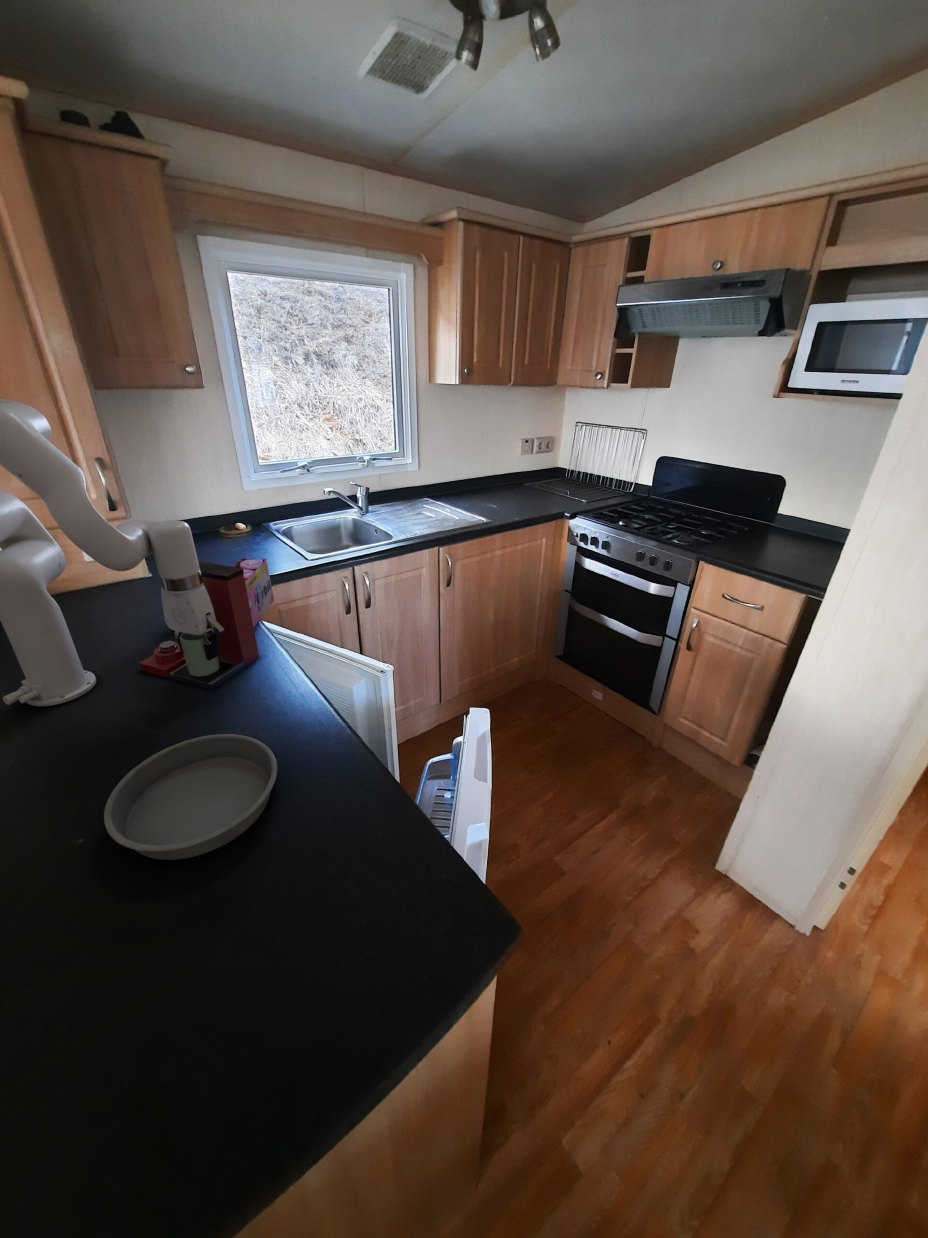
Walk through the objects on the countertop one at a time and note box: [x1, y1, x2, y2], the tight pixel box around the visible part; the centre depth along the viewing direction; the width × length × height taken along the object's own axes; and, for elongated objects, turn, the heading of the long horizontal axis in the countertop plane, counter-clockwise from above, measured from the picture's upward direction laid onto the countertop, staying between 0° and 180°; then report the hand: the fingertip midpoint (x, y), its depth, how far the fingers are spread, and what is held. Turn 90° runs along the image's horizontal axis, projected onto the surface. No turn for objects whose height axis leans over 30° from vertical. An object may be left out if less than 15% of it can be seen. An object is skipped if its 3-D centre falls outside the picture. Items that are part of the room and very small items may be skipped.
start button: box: [158, 640, 176, 654], centre depth 119 cm, size 3×3×2 cm
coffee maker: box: [169, 561, 260, 690], centre depth 114 cm, size 15×12×23 cm
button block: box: [138, 642, 186, 678], centre depth 120 cm, size 10×8×4 cm
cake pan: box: [103, 733, 278, 861], centre depth 81 cm, size 25×25×4 cm
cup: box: [180, 628, 220, 676], centre depth 114 cm, size 6×6×9 cm
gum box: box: [232, 557, 275, 628], centre depth 141 cm, size 24×8×14 cm, turn 2°
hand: (200, 653), depth 114 cm, fingers open, 6 cm apart
